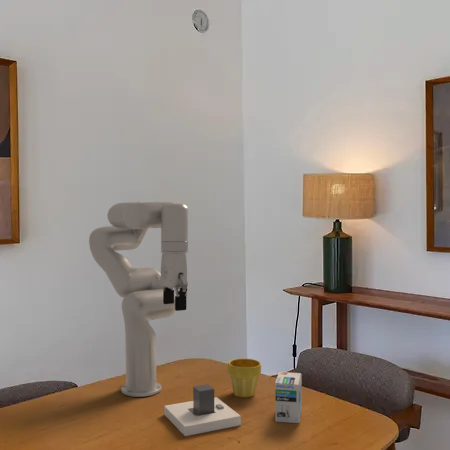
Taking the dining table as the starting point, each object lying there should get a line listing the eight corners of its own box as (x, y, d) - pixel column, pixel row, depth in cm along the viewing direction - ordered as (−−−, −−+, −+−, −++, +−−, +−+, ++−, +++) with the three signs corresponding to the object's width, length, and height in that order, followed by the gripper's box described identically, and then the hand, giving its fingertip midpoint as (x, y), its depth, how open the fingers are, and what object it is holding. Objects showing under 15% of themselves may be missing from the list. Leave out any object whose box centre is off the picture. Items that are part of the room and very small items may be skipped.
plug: (193, 415, 154) (193, 386, 154) (208, 412, 156) (207, 384, 155) (199, 420, 150) (199, 391, 150) (214, 417, 152) (214, 389, 152)
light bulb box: (299, 424, 149) (299, 384, 149) (274, 422, 151) (274, 383, 150) (302, 409, 160) (302, 372, 159) (278, 407, 161) (278, 371, 161)
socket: (164, 414, 156) (164, 404, 156) (216, 405, 163) (216, 395, 163) (184, 436, 142) (184, 424, 142) (240, 425, 149) (240, 414, 149)
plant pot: (268, 393, 173) (268, 362, 172) (245, 402, 166) (245, 369, 165) (244, 385, 180) (243, 356, 180) (221, 393, 173) (220, 362, 173)
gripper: (152, 244, 164) (152, 302, 165) (172, 250, 148) (172, 314, 149) (176, 244, 167) (176, 300, 168) (198, 249, 151) (198, 311, 152)
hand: (174, 306), depth 159 cm, fingers open, 9 cm apart
